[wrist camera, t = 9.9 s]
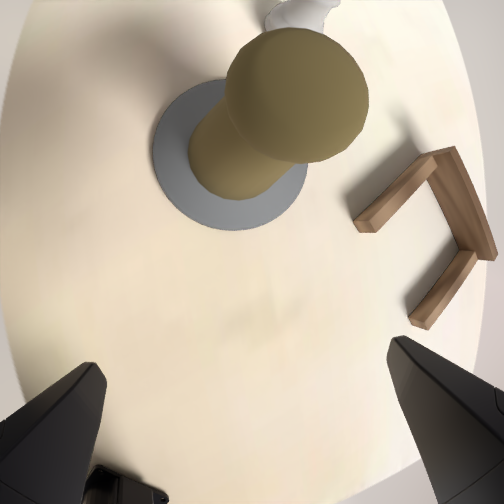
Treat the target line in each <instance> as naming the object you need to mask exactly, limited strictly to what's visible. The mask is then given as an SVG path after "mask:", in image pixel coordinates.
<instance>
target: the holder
mask: <svg viewBox="0 0 504 504" xmlns="http://www.w3.org/2000/svg"><path fill="white" fill-rule="evenodd" d="M426 179H427V181H428V182H429V184H430V186H431V188H432V190H433V192H434V194H435V196H436V198H437V200H438V202H439V205H440V207H441V209H442V211H443V213H444V215H445V217H446V220H447V222H448V224H449V226H450V229H451V231H452V233H453V236H454V238H455V240H456V243H457V245H458V248H459V252H458V253H457V255H456V256H455V258H454V259H453V260H452V262H451V263H450V265H449V266H448V267H447V269H446V270H445V271H444V273H443V274H442V276H441V277H440V278H439V280H438V281H437V282H436V284H435V285H434V286H433V287H432V289H431V290H430V291H429V293H428V294H427V295H426V296H425V298H424V299H423V300H422V301H421V303H420V304H419V305H418V306H417V308H416V309H415V310H414V311H413V312H412V314H411V315H410V316H409V317H408V318H409V320H410V322H411V324H412V325H413V326H416V327H419V328H422V329H425V330H429V329H430V327H431V326H432V325H433V324H434V322H435V321H436V320H437V318H438V317H439V316H440V314H441V313H442V312H443V310H444V309H445V308H446V306H447V305H448V304H449V302H450V301H451V299H452V298H453V297H454V295H455V294H456V292H457V291H458V289H459V288H460V286H461V285H462V284H463V282H464V281H465V279H466V278H467V276H468V274H469V273H470V271H471V270H472V268H473V267H474V265H475V264H476V262H477V260H488V261H494V260H495V259H496V257H497V255H498V252H497V249H496V246H495V243H494V240H493V236H492V233H491V230H490V228H489V225H488V222H487V219H486V216H485V214H484V211H483V208H482V206H481V203H480V201H479V198H478V196H477V193H476V191H475V188H474V186H473V184H472V181H471V179H470V177H469V175H468V172H467V170H466V168H465V166H464V164H463V162H462V160H461V157H460V155H459V153H458V151H457V149H456V147H455V146H452V147H448V148H444V149H440V150H436V151H432V152H428V153H424V154H421V155H420V156H419V157H418V158H417V159H416V160H415V161H414V162H413V163H412V164H411V165H410V166H409V167H408V168H407V169H406V170H405V171H404V172H403V173H402V174H401V175H400V176H399V177H398V178H397V179H396V180H395V181H394V182H393V183H392V184H391V185H390V186H389V187H388V188H387V189H386V190H385V191H384V192H383V193H382V194H381V195H380V196H379V197H378V198H377V199H376V200H375V201H374V202H373V203H372V204H371V205H370V206H369V207H367V208H366V209H365V210H364V211H363V212H362V213H361V214H360V215H359V216H358V217H357V218H356V219H355V220H354V221H353V223H354V224H355V226H356V228H357V229H358V231H359V232H360V233H376V232H377V231H378V230H379V229H380V228H381V227H382V226H383V225H384V224H385V223H386V222H387V221H388V220H389V219H390V218H391V217H392V216H393V215H394V214H395V213H396V211H397V210H398V209H399V208H400V207H401V206H402V205H403V204H404V203H405V202H406V201H407V200H408V199H409V198H410V196H411V195H412V194H413V193H414V192H415V191H416V190H417V189H418V188H419V187H420V185H421V184H422V183H423V182H424V181H425V180H426Z"/></svg>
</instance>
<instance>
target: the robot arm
mask: <svg viewBox="0 0 504 504" xmlns="http://www.w3.org/2000/svg"><path fill="white" fill-rule="evenodd" d="M387 364H388V368H389V371H390V374H391V378H392V381H393V384H394V388H395V391H396V395H397V398H398V401H399V404H400V406H401V409H402V411H403V413H404V416H405V418H406V420H407V423H408V425H409V428H410V430H411V433H412V435H413V438H414V440H415V443H416V445H417V448H418V450H419V453H420V455H421V458H422V460H423V463H424V466H425V468H426V471H427V474H428V476H429V479H430V482H431V485H432V487H433V490H434V493H435V496H436V499H437V501H438V504H504V392H503V391H502V390H500V389H498V388H497V387H495V388H494V386H492V385H491V384H489V383H487V382H485V381H484V380H482V379H480V378H478V377H477V376H475V375H473V374H471V373H470V372H468V371H466V370H464V369H463V368H461V367H459V366H458V365H456V364H454V363H452V362H451V361H449V360H447V359H445V358H444V357H442V356H440V355H438V354H437V353H435V352H433V351H431V350H430V349H428V348H426V347H424V346H423V345H421V344H419V343H417V342H416V341H414V340H412V339H410V338H409V337H407V336H404V335H402V336H397V337H393V338H392V339H391V342H390V346H389V349H388V353H387ZM106 388H107V380H106V378H105V376H104V374H103V373H102V371H101V370H100V368H99V367H98V365H97V364H96V363H95V362H84V363H82V364H81V365H79V366H78V367H77V368H75V369H74V370H72V371H71V372H70V373H68V374H67V375H65V376H64V377H63V378H61V379H60V380H59V381H57V382H56V383H54V384H53V385H52V386H50V387H49V388H47V389H46V390H45V391H43V392H42V393H41V394H39V395H38V396H36V397H35V398H34V399H32V400H31V401H30V402H28V403H27V404H25V405H24V406H23V407H21V408H20V409H19V410H17V411H16V412H14V413H13V414H12V415H10V416H9V417H8V418H6V420H3V421H2V422H0V504H167V503H168V502H169V496H168V495H167V494H165V493H162V492H159V491H157V490H154V489H152V488H150V487H147V486H145V485H142V484H140V483H138V482H136V481H133V480H131V479H129V478H127V477H125V476H123V475H120V474H118V473H116V472H114V471H112V470H110V469H108V468H106V467H104V466H102V465H96V466H95V467H94V468H93V470H92V471H91V472H90V474H89V475H88V477H87V473H88V469H89V465H90V461H91V457H92V453H93V449H94V445H95V441H96V437H97V434H98V430H99V426H100V422H101V417H102V411H103V405H104V399H105V394H106ZM99 470H101V471H103V472H101V471H99ZM86 477H87V478H86ZM161 498H164V499H161Z"/></svg>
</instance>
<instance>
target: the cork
mask: <svg viewBox="0 0 504 504" xmlns="http://www.w3.org/2000/svg"><path fill="white" fill-rule="evenodd" d="M224 93H225V96H224V97H223V98H222V99H221V100H220V101H219V102H218V103H217V104H216V105H215V106H214V107H213V108H212V109H211V110H210V111H209V112H208V114H207V115H206V116H205V117H204V118H203V119H202V120H201V121H200V122H199V123H198V124H197V126H196V127H195V129H194V131H193V133H192V135H191V137H190V139H189V146H188V153H187V154H188V159H189V164H190V169H191V170H192V172H193V174H194V176H195V177H196V179H197V181H198V182H199V183H200V184H201V185H202V186H203V187H204V188H205V189H206V190H208V191H209V192H210V193H212V194H214V195H216V196H219V197H221V198H223V199H229V200H237V201H240V200H245V199H250V198H254V197H256V196H258V195H260V194H261V193H263V192H265V191H266V190H268V189H269V188H270V187H271V186H272V185H273V184H274V183H275V182H276V181H277V180H278V179H279V178H281V177H282V176H283V175H284V174H285V173H286V172H287V171H288V170H289V169H290V168H292V167H293V166H294V165H295V164H305V163H313V162H320V161H323V160H326V159H329V158H330V157H332V156H334V155H336V154H338V153H340V152H342V151H344V150H345V149H346V148H347V147H348V146H349V145H350V144H351V143H352V142H353V141H354V139H355V138H356V137H357V136H358V134H359V133H360V132H361V131H362V129H363V126H364V123H365V120H366V116H367V113H368V108H369V97H368V87H367V84H366V81H365V78H364V75H363V73H362V71H361V69H360V68H359V66H358V65H357V63H356V61H355V60H354V58H353V57H352V56H351V55H350V54H349V53H348V52H347V51H346V50H345V49H344V48H343V47H342V46H341V45H340V44H339V43H337V42H335V41H334V40H332V39H331V38H329V37H327V36H326V35H324V34H322V33H319V32H316V31H313V30H310V29H307V28H294V27H286V28H279V29H275V30H271V31H267V32H264V33H261V34H260V35H259V36H257V37H256V38H254V39H253V40H251V41H250V42H249V43H247V44H246V45H245V46H244V47H242V48H241V49H240V51H239V52H238V54H237V55H236V57H235V59H234V60H233V62H232V64H231V65H230V68H229V70H228V72H227V77H226V84H225V91H224Z"/></svg>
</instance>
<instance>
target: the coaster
mask: <svg viewBox="0 0 504 504" xmlns="http://www.w3.org/2000/svg"><path fill="white" fill-rule="evenodd" d="M225 84H226V79H225V80H215V81H210V82H206V83H203V84H200V85H197V86H195V87H193V88H191V89H189V90H187V91H186V92H184V93H183V94H182V95H180V96H179V97H178V98H177V99H176V100H175V101H173V103H172V104H171V105H170V106H169V107H168V108H167V110H166V111H165V113H164V114H163V116H162V118H161V120H160V122H159V124H158V126H157V130H156V133H155V137H154V144H153V161H154V168H155V172H156V175H157V179H158V181H159V183H160V185H161V188H162V190H163V191H164V193H165V194H166V196H167V197H168V199H169V200H170V201H171V202H172V203H173V205H174V206H175V207H176V208H177V209H178V210H180V211H181V212H182V213H183V214H184V215H186V216H187V217H189V218H190V219H192V220H194V221H196V222H198V223H200V224H202V225H205V226H208V227H211V228H215V229H220V230H230V231H235V230H246V229H251V228H256V227H259V226H261V225H264V224H266V223H268V222H270V221H272V220H274V219H275V218H277V217H278V216H280V215H281V214H282V213H283V212H285V211H286V210H287V209H288V208H289V207H290V205H291V204H292V203H293V202H294V201H295V199H296V198H297V196H298V194H299V193H300V191H301V188H302V186H303V184H304V181H305V178H306V174H307V168H308V163H305V164H295V165H294V166H293V167H292V168H290V169H289V170H288V171H287V172H286V173H285V174H284V175H283V176H282V177H281V178H279V179H278V180H277V181H276V182H275V183H274V184H273V185H272V186H271V187H270V188H269V189H268V190H266V191H265V192H263V193H261V194H260V195H258V196H256V197H254V198H250V199H245V200H240V201H237V200H229V199H223V198H221V197H219V196H216V195H214V194H212V193H210V192H209V191H208V190H206V189H205V188H204V187H203V186H202V185H201V184H200V183H199V182H198V181H197V179H196V177H195V176H194V174H193V172H192V170H191V169H190V164H189V159H188V154H187V153H188V146H189V139H190V137H191V135H192V133H193V131H194V129H195V127H196V126H197V124H198V123H199V122H200V121H201V120H202V119H203V118H204V117H205V116H206V115H207V114H208V112H209V111H210V110H211V109H212V108H213V107H214V106H215V105H216V104H217V103H218V102H219V101H220V100H221V99H222V98H223V97H224V96H225V93H224V91H225Z"/></svg>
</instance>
